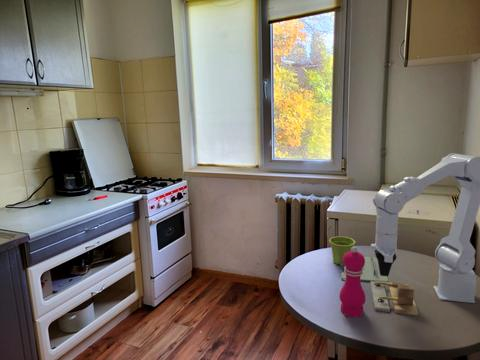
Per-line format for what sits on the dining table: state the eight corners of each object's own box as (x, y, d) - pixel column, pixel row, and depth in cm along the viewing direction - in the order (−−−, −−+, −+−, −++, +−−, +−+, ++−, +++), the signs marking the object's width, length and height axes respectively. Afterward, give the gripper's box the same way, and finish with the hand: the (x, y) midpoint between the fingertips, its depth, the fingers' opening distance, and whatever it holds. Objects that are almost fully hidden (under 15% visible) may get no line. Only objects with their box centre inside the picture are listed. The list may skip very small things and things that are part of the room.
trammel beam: (407, 287, 114) (407, 282, 114) (418, 315, 99) (418, 308, 99) (374, 284, 117) (375, 278, 116) (380, 310, 102) (380, 304, 101)
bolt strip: (382, 285, 116) (383, 282, 116) (389, 311, 101) (389, 308, 101) (370, 284, 117) (370, 281, 117) (374, 310, 102) (375, 306, 102)
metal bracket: (339, 250, 131) (382, 252, 128) (338, 262, 134) (380, 264, 130) (342, 277, 119) (389, 280, 115) (341, 289, 121) (387, 293, 118)
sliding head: (411, 301, 104) (412, 285, 103) (412, 305, 101) (414, 289, 100) (378, 297, 106) (379, 282, 105) (379, 301, 104) (380, 286, 103)
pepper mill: (365, 319, 98) (368, 253, 94) (339, 316, 100) (341, 250, 96) (364, 306, 104) (366, 243, 100) (339, 303, 106) (340, 241, 102)
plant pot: (359, 265, 131) (360, 243, 129) (336, 268, 129) (336, 246, 127) (346, 255, 140) (347, 235, 138) (324, 258, 138) (325, 237, 136)
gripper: (369, 222, 109) (367, 263, 111) (374, 239, 95) (371, 285, 98) (394, 224, 107) (391, 265, 109) (402, 241, 93) (399, 288, 96)
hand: (384, 275), depth 103 cm, fingers closed
